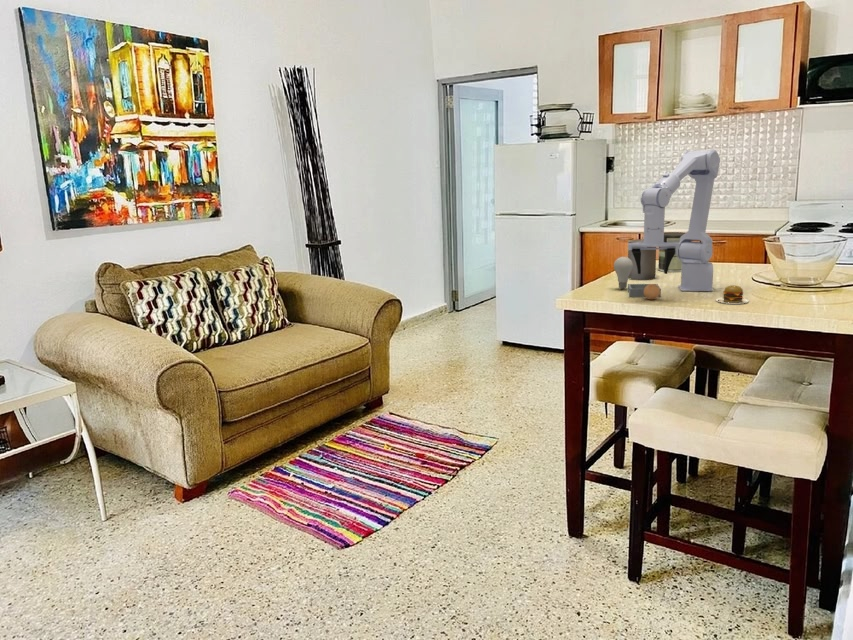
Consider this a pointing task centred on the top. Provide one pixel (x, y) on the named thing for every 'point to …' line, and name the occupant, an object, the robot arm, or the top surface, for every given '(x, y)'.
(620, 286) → the lightbulb
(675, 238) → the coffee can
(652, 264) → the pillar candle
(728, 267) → the top surface
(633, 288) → the gray square tray
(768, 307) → the top surface
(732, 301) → the hamburger
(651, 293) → the ball
